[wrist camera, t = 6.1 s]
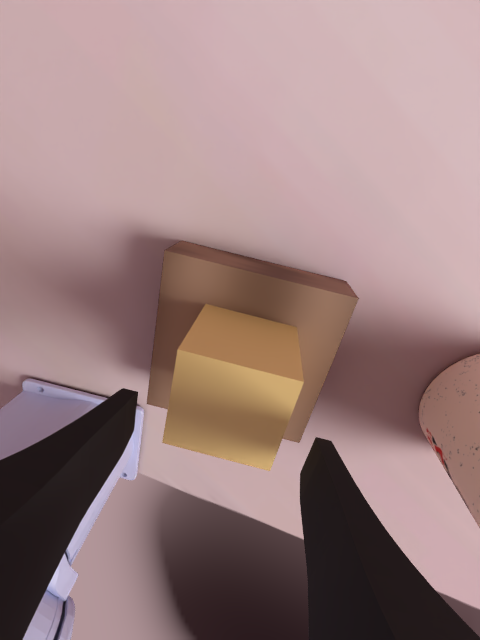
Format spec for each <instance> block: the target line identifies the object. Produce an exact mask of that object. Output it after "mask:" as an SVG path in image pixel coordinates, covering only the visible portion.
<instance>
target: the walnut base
mask: <svg viewBox="0 0 480 640" xmlns="http://www.w3.org/2000/svg"><path fill="white" fill-rule="evenodd" d="M358 299H359V298H358V297H357V296H356V294H355V293H354V291H353V290H352V289H351V287H350V286H349V284H348V283H347V282H346V281H343V280H339V279H335V278H331V277H327V276H322V275H318V274H314V273H310V272H306V271H302V270H298V269H294V268H290V267H286V266H282V265H278V264H274V263H270V262H266V261H262V260H258V259H254V258H250V257H246V256H242V255H238V254H234V253H229V252H225V251H221V250H217V249H213V248H209V247H205V246H201V245H197V244H193V243H189V242H185V241H180V242H178V243H177V244H175V245H173V246H171V247H170V248H168V249H166V250H165V251H164V259H163V268H162V276H161V285H160V294H159V302H158V311H157V320H156V328H155V337H154V345H153V354H152V363H151V371H150V380H149V389H148V397H147V404H149V405H153V406H157V407H161V408H165V409H168V405H169V399H170V393H171V387H172V381H173V375H174V369H175V363H176V356H177V350H178V348H179V346H180V345H181V343H182V342H183V340H184V338H185V337H186V335H187V333H188V332H189V330H190V329H191V327H192V325H193V324H194V322H195V320H196V319H197V317H198V316H199V314H200V312H201V311H202V309H203V307H204V306H205V304H208V305H212V306H216V307H220V308H224V309H228V310H232V311H236V312H239V313H243V314H247V315H251V316H255V317H259V318H263V319H267V320H271V321H274V322H278V323H282V324H286V325H290V326H294V327H297V332H298V340H299V348H300V355H301V363H302V370H303V378H304V384H303V386H302V389H301V391H300V394H299V396H298V399H297V402H296V404H295V407H294V409H293V412H292V415H291V417H290V420H289V422H288V425H287V428H286V430H285V433H284V435H283V438H282V439H286V440H290V441H294V442H298V443H299V442H300V440H301V437H302V435H303V433H304V430H305V428H306V425H307V423H308V420H309V418H310V416H311V413H312V411H313V408H314V406H315V403H316V401H317V398H318V396H319V394H320V391H321V389H322V386H323V384H324V381H325V379H326V377H327V374H328V372H329V369H330V367H331V364H332V362H333V360H334V357H335V355H336V352H337V350H338V347H339V345H340V342H341V340H342V338H343V335H344V333H345V330H346V328H347V325H348V323H349V321H350V318H351V316H352V313H353V311H354V308H355V306H356V304H357V301H358Z"/></svg>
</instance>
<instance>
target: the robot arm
mask: <svg viewBox="0 0 480 640" xmlns="http://www.w3.org/2000/svg"><path fill="white" fill-rule="evenodd" d="M22 387H23V391H22V392H21V393H20V394H18V395H17V396H16V397H15V398H13V399H12V400H11V401H10V402H8V403H7V404H6V405H5V406H3V407H2V408H1V409H0V640H71V635H72V630H73V623H74V616H75V604H74V602H73V599H72V598H71V597H70V596H69V593H70V591H71V589H72V587H73V585H74V583H75V581H76V579H77V577H78V573H77V572H76V571H75V570H73V568H72V567H71V565H72V563H73V561H74V559H75V557H76V556H77V554H78V552H79V550H80V548H81V546H82V544H83V543H84V541H85V539H86V537H87V535H88V534H89V532H90V530H91V528H92V526H93V524H94V522H95V521H96V519H97V517H98V515H99V513H100V512H101V510H102V508H103V506H104V504H105V502H106V501H107V499H108V497H109V495H110V493H111V491H112V489H113V488H114V486H115V484H116V482H117V481H118V479H119V477H120V478H124V479H128V480H134V479H135V478H136V476H137V471H138V462H139V453H140V444H141V435H142V426H143V418H144V410H143V409H142V408H141V407H139V406H137V397H138V392H136V391H132V390H128V389H124V388H123V389H121V390H119V391H118V392H116V393H115V394H114V395H112V396H111V397H109V398H105V397H101V396H97V395H93V394H89V393H86V392H82V391H78V390H74V389H70V388H66V387H62V386H58V385H54V384H50V383H46V382H43V381H39V380H35V379H31V378H28V379H26V380H25V381H23V383H22ZM300 505H301V515H302V525H303V535H304V544H305V553H306V563H307V575H308V604H309V605H308V606H309V607H308V608H309V640H480V637H479V636H478V635H477V634H476V633H475V632H474V631H473V630H472V629H471V628H470V627H469V626H468V625H467V624H466V623H465V622H464V621H463V620H462V619H461V618H460V617H459V616H458V615H457V613H456V612H455V611H454V610H453V609H452V608H451V607H450V606H449V605H448V604H447V603H446V602H445V601H444V600H443V599H442V597H441V596H440V595H439V594H438V593H437V592H436V591H435V590H434V589H433V587H432V586H431V585H430V584H429V583H428V582H427V580H426V579H425V578H424V577H423V576H422V575H421V573H420V572H419V571H418V570H417V569H416V568H415V566H414V565H413V564H412V563H411V562H410V560H409V559H408V558H407V557H406V555H405V554H404V553H403V552H402V550H401V549H400V548H399V546H398V545H397V544H396V542H395V541H394V540H393V538H392V537H391V536H390V535H389V533H388V532H387V530H386V529H385V528H384V526H383V525H382V524H381V522H380V521H379V519H378V518H377V516H376V515H375V513H374V512H373V510H372V509H371V507H370V506H369V504H368V503H367V501H366V500H365V498H364V496H363V495H362V493H361V492H360V490H359V488H358V487H357V485H356V483H355V482H354V480H353V478H352V477H351V475H350V473H349V471H348V470H347V468H346V466H345V464H344V463H343V461H342V459H341V457H340V456H339V454H338V452H337V450H336V449H335V447H334V445H333V443H332V442H331V441H329V440H325V439H321V438H317V437H316V438H315V441H314V443H313V445H312V447H311V450H310V452H309V454H308V457H307V459H306V461H305V463H304V466H303V468H302V470H301V473H300Z"/></svg>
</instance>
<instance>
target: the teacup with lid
mask: <svg viewBox="0 0 480 640" xmlns="http://www.w3.org/2000/svg"><path fill="white" fill-rule="evenodd" d="M419 422H420V426H421V428H422V431H423V433H424V434H425V436H426V438H427V439H428V441H429V443H430V445H431V446H432V448H433V450H434V451H435V453H436V455H437V456H438V458H439V460H440V462H441V463H442V465H443V467H444V468H445V470H446V472H447V473H448V475H449V477H450V479H451V480H452V482H453V484H454V485H455V487H456V489H457V490H458V492H459V494H460V496H461V497H462V499H463V501H464V502H465V504H466V506H467V507H468V509H469V511H470V513H471V514H472V516H473V518H474V519H475V521H476V523H477V524H478V526H479V528H480V354H476V355H473V356H470V357H468V358H465V359H463V360H461V361H459V362H457V363H455V364H453V365H451V366H450V367H448V368H447V369H445V370H444V371H443V372H442V373H440V374H439V375H438V376H437V377H436V378H435V379H434V380H433V381H432V382H431V384H430V385H429V386H428V388H427V389H426V391H425V393H424V394H423V397H422V399H421V402H420V406H419Z"/></svg>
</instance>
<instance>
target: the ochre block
mask: <svg viewBox="0 0 480 640" xmlns="http://www.w3.org/2000/svg"><path fill="white" fill-rule="evenodd" d="M303 384H304V378H303V370H302V363H301V355H300V348H299V340H298V332H297V327H294V326H290V325H286V324H282V323H278V322H274V321H271V320H267V319H263V318H259V317H255V316H251V315H247V314H243V313H239V312H236V311H232V310H228V309H224V308H220V307H216V306H212V305H208V304H205V306H204V307H203V309H202V311H201V312H200V314H199V316H198V317H197V319H196V320H195V322H194V324H193V325H192V327H191V329H190V330H189V332H188V333H187V335H186V337H185V338H184V340H183V342H182V343H181V345H180V346H179V348H178V350H177V356H176V363H175V369H174V375H173V381H172V387H171V393H170V399H169V405H168V411H167V418H166V424H165V430H164V436H163V442H162V443H165V444H169V445H173V446H176V447H180V448H184V449H188V450H192V451H196V452H199V453H203V454H207V455H211V456H215V457H218V458H222V459H226V460H230V461H234V462H237V463H241V464H245V465H249V466H253V467H256V468H260V469H264V470H268V471H270V469H271V467H272V464H273V461H274V459H275V456H276V454H277V451H278V448H279V446H280V443H281V441H282V438H283V435H284V433H285V430H286V428H287V425H288V422H289V420H290V417H291V415H292V412H293V409H294V407H295V404H296V402H297V399H298V396H299V394H300V391H301V389H302V386H303Z"/></svg>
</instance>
